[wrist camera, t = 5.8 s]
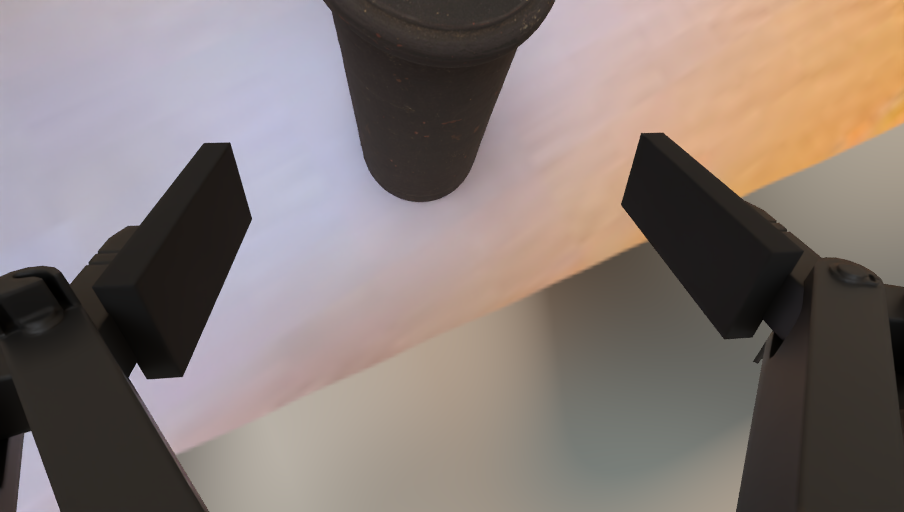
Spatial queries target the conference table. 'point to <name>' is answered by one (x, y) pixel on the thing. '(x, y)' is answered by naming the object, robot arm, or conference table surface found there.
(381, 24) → the container
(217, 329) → the conference table surface
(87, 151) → the conference table surface
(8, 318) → the robot arm
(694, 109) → the conference table surface
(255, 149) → the conference table surface
